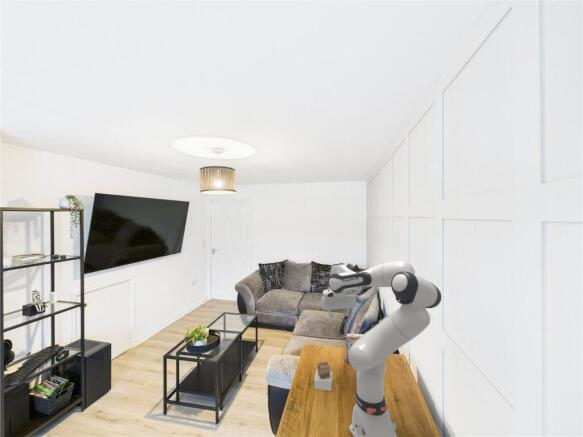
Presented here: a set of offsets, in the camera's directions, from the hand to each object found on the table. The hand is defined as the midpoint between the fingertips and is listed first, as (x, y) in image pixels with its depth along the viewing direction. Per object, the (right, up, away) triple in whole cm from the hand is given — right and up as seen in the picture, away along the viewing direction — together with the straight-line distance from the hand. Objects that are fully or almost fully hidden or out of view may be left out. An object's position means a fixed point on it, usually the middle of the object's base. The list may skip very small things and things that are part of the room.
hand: (338, 316), depth 139 cm
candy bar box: (+13, -35, +15) cm, 40 cm away
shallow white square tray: (-10, -35, -7) cm, 37 cm away
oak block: (-10, -30, -7) cm, 32 cm away
